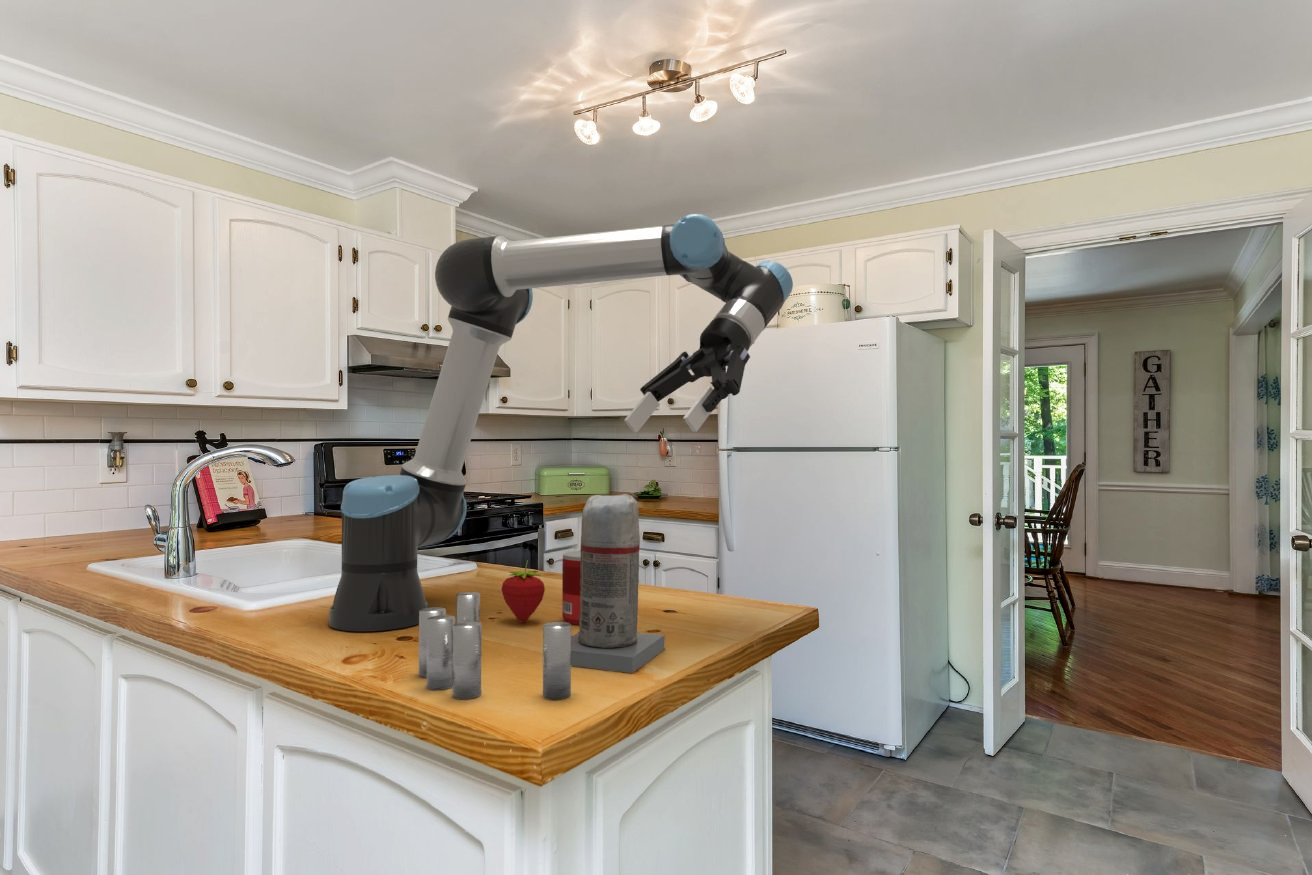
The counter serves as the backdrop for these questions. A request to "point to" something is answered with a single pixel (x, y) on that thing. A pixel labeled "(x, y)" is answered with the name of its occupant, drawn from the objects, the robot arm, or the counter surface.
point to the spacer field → (457, 651)
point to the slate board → (617, 653)
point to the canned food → (571, 587)
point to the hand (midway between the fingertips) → (658, 426)
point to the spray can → (609, 571)
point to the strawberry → (523, 593)
